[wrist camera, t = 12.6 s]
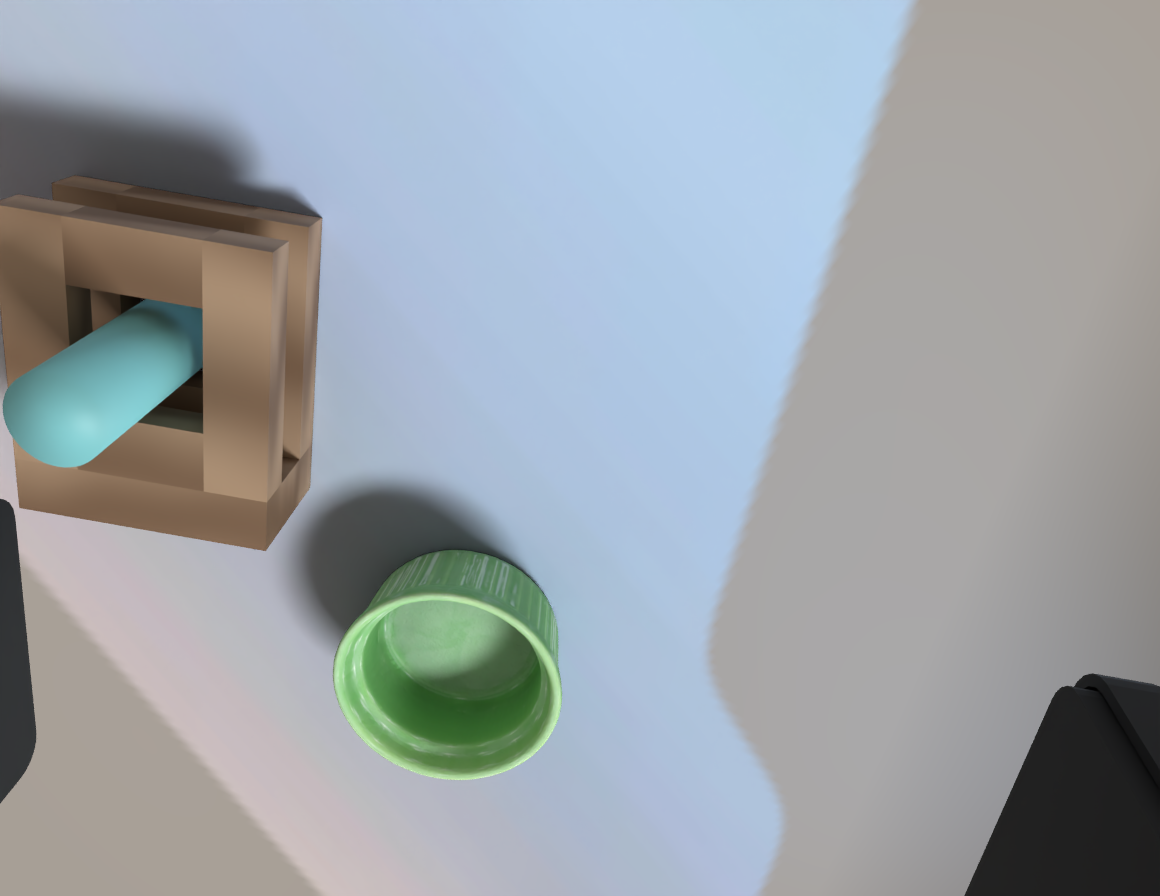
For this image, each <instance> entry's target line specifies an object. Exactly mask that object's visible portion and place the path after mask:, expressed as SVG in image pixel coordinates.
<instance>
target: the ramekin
mask: <svg viewBox="0 0 1160 896" xmlns="http://www.w3.org/2000/svg"><path fill="white" fill-rule="evenodd" d="M333 682H334V689H335V693H336V696H337V700H338V703H339V705H340V708H341V710H342V712H343V714H344V716H345V718H346V719H347V721H348V722H349V724H350V725H351V727H352V728H353V730H354V731H355V732H356V733H357V735H358V736H359V737H360V738H361V739H362V740H363V741H364V742H365V743H366V744H367V745H368V746H369V747H370V748H372V749H373V750H374V751H375V752H377V753H378V754H380V755H381V756H382V757H384V758H386V759H387V760H389V761H390V762H392V763H394V764H396V765H398V766H400V767H402V768H405V769H407V770H410V771H413V772H415V773H418V774H421V775H425V776H429V777H434V778H440V779H450V780H468V779H478V778H484V777H488V776H492V775H496V774H499V773H502V772H505V771H507V770H510V769H512V768H514V767H516V766H518V765H519V764H521V763H523V762H524V761H526V760H527V759H529V758H530V757H531V756H532V755H534V754H535V753H536V752H537V751H538V750H539V749H540V748H541V747H542V746H543V745H544V743H545V742H546V741H547V739H548V738H549V736H550V735H551V733H552V731H553V729H554V727H555V725H556V723H557V720H558V717H559V713H560V709H561V703H562V688H561V678H560V673H559V668H558V629H557V623H556V619H555V616H554V613H553V610H552V608H551V606H550V604H549V602H548V600H547V598H546V597H545V595H544V594H543V593H542V591H541V590H540V589H539V587H538V586H537V585H536V584H535V583H534V582H533V581H532V580H531V579H530V578H529V577H528V576H526V575H525V574H524V573H523V572H522V571H520V570H519V569H517V568H516V567H514V566H512V565H510V564H509V563H507V562H505V561H503V560H500V559H498V558H496V557H493V556H490V555H487V554H482V553H478V552H473V551H466V550H443V551H438V552H433V553H428V554H425V555H422V556H419V557H417V558H415V559H413V560H411V561H409V562H407V563H406V564H404V565H403V566H402V567H400V568H398V569H397V570H396V571H394V572H393V573H392V574H391V575H390V576H389V577H388V578H387V579H386V581H385V582H384V583H383V585H382V586H381V588H380V589H379V590H378V592H377V593H376V595H375V596H374V598H373V600H372V601H371V603H370V604H369V606H368V607H367V609H366V610H365V611H364V612H363V613H362V614H361V615H360V616H359V617H358V618H357V619H356V620H355V621H354V622H353V623H352V625H351V626H350V627H349V629H348V630H347V631H346V633H345V635H344V636H343V638H342V640H341V642H340V644H339V646H338V649H337V652H336V655H335V659H334V667H333Z"/></svg>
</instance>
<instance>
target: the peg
mask: <svg viewBox="0 0 1160 896" xmlns="http://www.w3.org/2000/svg"><path fill="white" fill-rule="evenodd" d="M202 367H203V309H202V308H196V307H191V306H185V305H179V304H173V303H167V302H162V301H156V300H150V299H145V300H144V301H142V302H140V303H139V304H137V305H136V306H134V307H132V308H131V309H129V310H128V311H126V312H124V313H123V314H121V315H119V316H118V317H116V318H115V319H113V320H111V321H110V322H108V323H106V324H105V325H103V326H102V327H100V328H98V329H97V330H95V331H93V332H92V333H90V334H89V335H87V336H85V337H84V338H82V339H80V340H79V341H77V342H76V343H74V344H72V345H71V346H69V347H67V348H66V349H64V350H63V351H61V352H59V353H58V354H56V355H54V356H53V357H51V358H50V359H48V360H46V361H45V362H43V363H42V364H40V365H38V366H37V367H35V368H33V369H32V370H30V371H29V372H27V373H25V374H24V375H22V376H20V377H19V378H17V379H16V380H15V381H14V382H13V383H12V384H11V385H10V386H9V388H8V389H7V391H6V393H5V396H4V400H3V415H4V419H5V423H6V425H7V428H8V430H9V432H10V434H11V435H12V437H13V438H14V440H15V441H16V442H17V443H18V444H19V446H20V447H21V448H22V449H24V450H25V451H26V452H27V453H28V454H30V455H31V456H33V457H34V458H36V459H38V460H39V461H42V462H44V463H46V464H49V465H53V466H57V467H77V466H81V465H84V464H86V463H88V462H89V461H91V460H92V459H94V458H95V457H96V456H97V455H98V454H100V453H101V452H102V451H103V450H104V449H106V448H107V447H108V446H109V445H110V444H112V443H113V442H114V441H115V440H116V439H118V438H119V437H120V436H121V435H122V434H124V433H125V432H126V431H127V430H128V429H130V428H131V427H132V426H133V425H134V424H135V423H137V422H138V421H139V420H140V419H141V418H143V417H144V416H145V415H146V414H147V413H149V412H150V411H151V410H152V409H153V408H155V407H156V406H157V405H158V404H159V403H161V402H162V401H163V400H164V399H165V398H167V397H168V396H169V395H170V394H171V393H173V392H174V391H175V390H176V389H177V388H178V387H180V386H181V385H182V384H183V383H184V382H186V381H187V380H188V379H189V378H190V377H192V376H193V375H194V374H195V373H196V372H198V371H199V370H200V369H201V368H202Z"/></svg>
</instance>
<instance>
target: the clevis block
mask: <svg viewBox="0 0 1160 896" xmlns="http://www.w3.org/2000/svg"><path fill="white" fill-rule="evenodd" d="M52 196H53V200H48V199H43V198H37V197H31V196H25V195H19V194H17V195H14V196H11V197H8V198H5V199H2V200H0V310H1V320H2V331H3V341H4V352H5V362H6V373H7V383H8V388H9V386H10V385H11V384H12V383H13V382H14V381H15V380H16V379H17V378H19V377H20V376H22V375H24V374H25V373H27V372H29V371H30V370H32V369H33V368H35V367H37V366H38V365H40V364H42V363H43V362H45V361H46V360H48V359H50V358H51V357H53V356H54V355H56V354H58V353H59V352H61V351H63V350H64V349H66V348H67V347H69V346H71V345H72V344H74V343H76V342H77V341H79V340H80V339H82V338H84V337H85V336H87V335H89V334H90V333H92V332H93V331H95V330H97V329H98V328H100V327H102V326H103V325H105V324H106V323H108V322H110V321H111V320H113V319H115V318H116V317H118V316H119V315H121V314H123V313H124V312H126V311H128V310H129V309H131V308H132V307H134V306H136V305H137V304H139V303H140V298H144V299H150V300H156V301H162V302H167V303H173V304H179V305H185V306H191V307H196V308H202V309H203V372H202V371H198V372H196V373H195V374H194V375H193V376H192V377H190V378H189V379H188V380H187V381H186V382H184V383H183V384H182V385H181V386H180V387H178V388H177V389H176V390H175V391H174V392H173V393H171V394H170V395H169V396H168V397H167V398H165V399H164V400H163V401H162V402H161V403H159V404H158V405H157V406H156V407H155V408H153V409H152V410H151V411H150V412H149V413H147V414H146V415H145V416H144V417H143V418H141V419H140V420H139V421H138V422H137V423H135V424H134V425H133V426H132V427H131V428H130V429H128V430H127V431H126V432H125V433H124V434H122V435H121V436H120V437H119V438H118V439H116V440H115V441H114V442H113V443H112V444H110V445H109V446H108V447H107V448H106V449H104V450H103V451H102V452H101V453H100V454H98V455H97V456H96V457H95V458H94V459H92V460H91V461H89V462H88V463H86V464H84V465H81V466H77V467H57V466H53V465H49V464H46V463H44V462H42V461H39V460H38V459H36V458H34V457H33V456H31V455H30V454H28V453H27V452H26V451H25V450H24V449H22V448H21V447H20V446H19V444H18V443H17V442H16V441H15V440H14V438H13V446H14V456H15V467H16V477H17V487H18V498H19V508H23V509H29V510H35V511H41V512H46V513H52V514H58V515H63V516H69V517H75V518H80V519H86V520H92V521H98V522H103V523H109V524H115V525H120V526H126V527H132V528H138V529H143V530H149V531H155V532H160V533H166V534H172V535H178V536H183V537H189V538H195V539H200V540H206V541H212V542H217V543H223V544H229V545H235V546H240V547H246V548H252V549H257V550H263V551H266V550H267V548H268V547H269V545H270V544H271V543H272V541H273V540H274V538H275V537H276V535H277V534H278V533H279V531H280V530H281V528H282V527H283V526H284V524H285V523H286V521H287V520H288V518H289V517H290V516H291V514H292V513H293V511H294V510H295V508H296V507H297V506H298V504H299V503H300V501H301V500H302V498H303V497H304V496H305V494H306V493H307V491H308V490H309V488H310V479H311V457H312V434H313V412H314V389H315V367H316V345H317V322H318V300H319V277H320V255H321V232H322V218H319V217H314V216H308V215H302V214H296V213H290V212H285V211H279V210H273V209H267V208H261V207H256V206H250V205H244V204H238V203H233V202H227V201H221V200H215V199H209V198H204V197H198V196H192V195H186V194H180V193H175V192H169V191H163V190H157V189H152V188H146V187H140V186H134V185H128V184H123V183H117V182H111V181H105V180H99V179H94V178H88V177H82V176H76V175H74V176H71V177H68V178H65V179H62V180H59V181H56V182H53V183H52Z"/></svg>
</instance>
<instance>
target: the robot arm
mask: <svg viewBox="0 0 1160 896" xmlns="http://www.w3.org/2000/svg"><path fill="white" fill-rule="evenodd" d="M35 743H36V725H35V715H34V704H33V695H32V684H31V675H30V664H29V654H28V643H27V633H26V623H25V614H24V603H23V592H22V582H21V572H20V562H19V552H18V541H17V531H16V521H15V515H14V510H13V508H12V506H11V505H10V503H9V502H7V501H6V500H4V499H0V803H1V802H2V801H3V799H4V798H5V797H6V795H7V794H8V793H9V792H10V791H11V789H12V788H13V787H14V786H15V784H16V783H17V782H18V781H19V779H20V778H21V777H22V775H23V774H24V772H25V771H26V769H27V767H28V765H29V763H30V761H31V758H32V755H33V752H34V748H35ZM965 896H1160V687H1159V686H1157V685H1154V684H1149V683H1144V682H1138V681H1132V680H1127V679H1121V678H1115V677H1110V676H1103V675H1098V674H1088V675H1085V676H1083V677H1082V678H1081V679H1080V680H1079V681H1077V683H1076V685H1075V686H1074V687H1071V686H1065V687H1061V688H1060V689H1059V690H1058V691H1057V692H1056V693H1055V695H1054V697H1053V698H1052V700H1051V703H1050V705H1049V707H1048V709H1047V712H1046V714H1045V716H1044V718H1043V721H1042V723H1041V725H1040V727H1039V730H1038V732H1037V734H1036V736H1035V739H1034V741H1033V743H1032V745H1031V748H1030V750H1029V752H1028V754H1027V757H1026V759H1025V761H1024V763H1023V765H1022V768H1021V770H1020V772H1019V775H1018V777H1017V779H1016V781H1015V783H1014V786H1013V788H1012V790H1011V792H1010V795H1009V797H1008V799H1007V801H1006V804H1005V806H1004V808H1003V810H1002V813H1001V815H1000V817H999V819H998V822H997V824H996V826H995V828H994V831H993V833H992V835H991V837H990V840H989V842H988V844H987V846H986V849H985V851H984V853H983V855H982V858H981V860H980V862H979V864H978V866H977V869H976V871H975V873H974V875H973V878H972V880H971V882H970V884H969V887H968V889H967V891H966V894H965Z"/></svg>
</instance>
